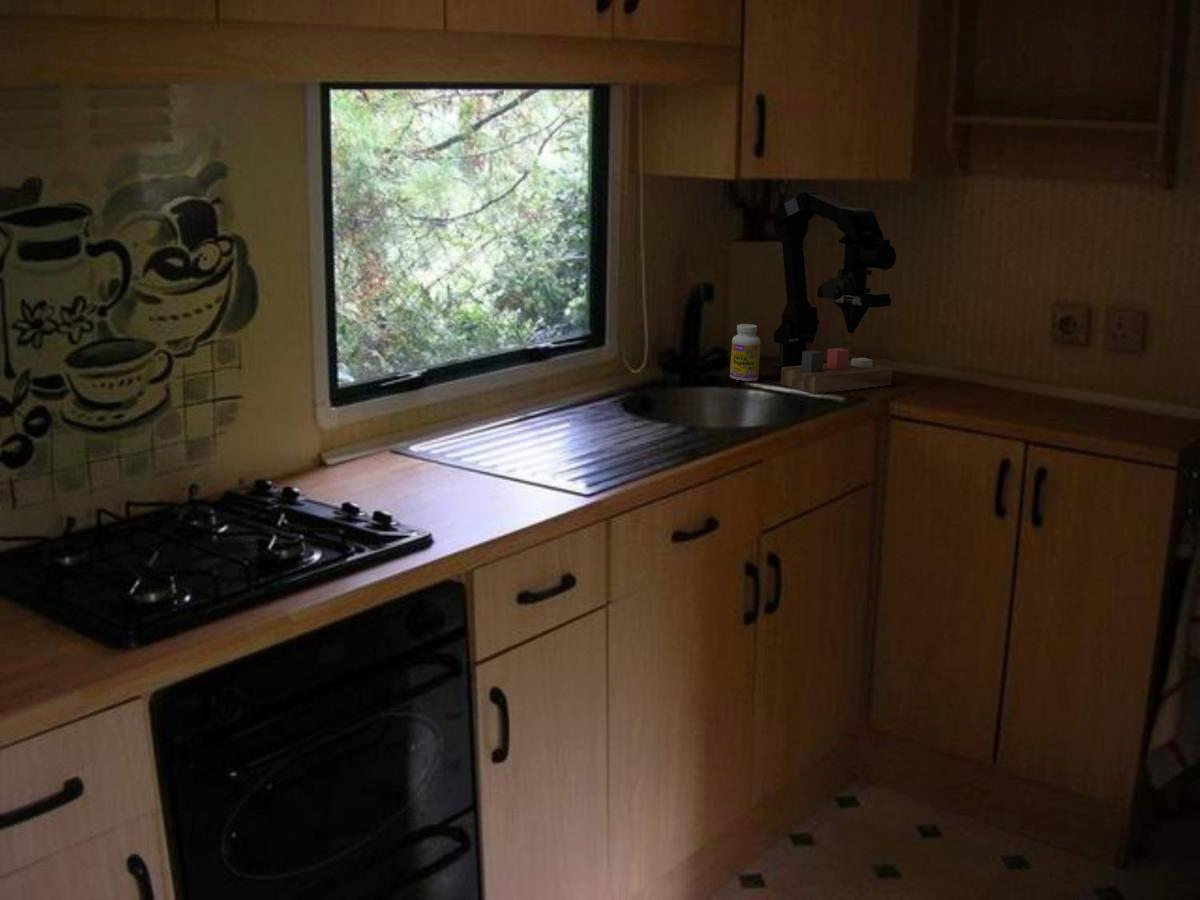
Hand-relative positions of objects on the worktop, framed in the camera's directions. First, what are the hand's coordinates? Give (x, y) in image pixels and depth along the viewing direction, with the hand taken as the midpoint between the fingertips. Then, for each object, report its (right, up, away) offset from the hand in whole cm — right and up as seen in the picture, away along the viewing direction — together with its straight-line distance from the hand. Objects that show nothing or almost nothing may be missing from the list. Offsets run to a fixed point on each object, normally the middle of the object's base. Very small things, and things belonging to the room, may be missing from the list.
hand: (851, 332), depth 315 cm
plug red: (-3, -9, 0) cm, 9 cm away
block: (-3, -12, +1) cm, 12 cm away
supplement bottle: (-24, -11, +5) cm, 27 cm away
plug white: (+3, -11, +5) cm, 12 cm away
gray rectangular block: (-10, -10, -3) cm, 14 cm away
